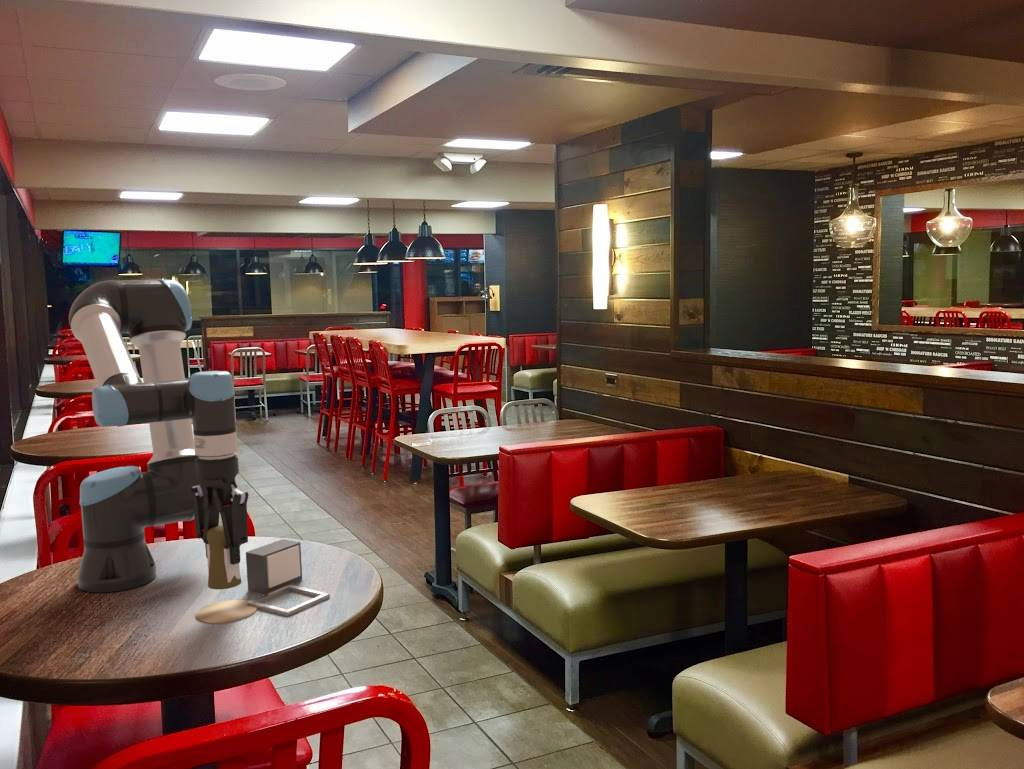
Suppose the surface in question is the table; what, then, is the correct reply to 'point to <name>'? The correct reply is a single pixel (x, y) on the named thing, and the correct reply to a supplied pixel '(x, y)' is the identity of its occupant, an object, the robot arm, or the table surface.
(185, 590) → the table surface
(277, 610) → the taupe square frame
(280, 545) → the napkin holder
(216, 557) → the pepper shaker
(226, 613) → the tan round coaster
